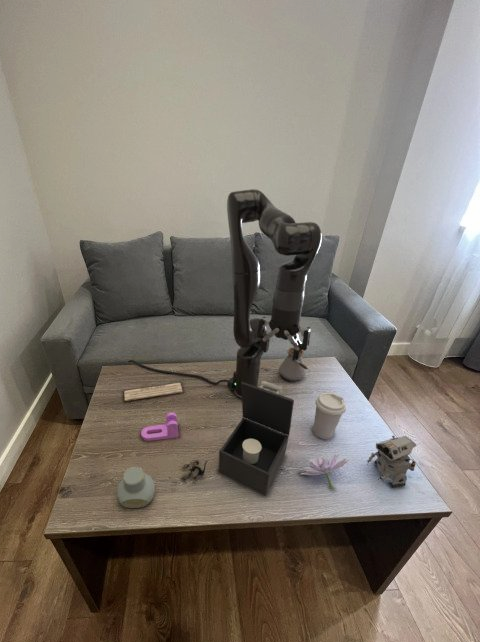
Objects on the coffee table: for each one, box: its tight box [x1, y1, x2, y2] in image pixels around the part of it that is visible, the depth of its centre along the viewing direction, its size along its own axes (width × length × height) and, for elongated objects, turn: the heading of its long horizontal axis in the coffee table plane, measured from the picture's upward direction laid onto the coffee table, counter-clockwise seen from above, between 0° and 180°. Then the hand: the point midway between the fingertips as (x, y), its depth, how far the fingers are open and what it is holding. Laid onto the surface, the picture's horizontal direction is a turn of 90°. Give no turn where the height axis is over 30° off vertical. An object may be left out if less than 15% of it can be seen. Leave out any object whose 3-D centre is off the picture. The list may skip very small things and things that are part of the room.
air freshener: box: [116, 466, 156, 509], centre depth 91 cm, size 11×8×10 cm
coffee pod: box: [242, 439, 262, 464], centre depth 96 cm, size 6×6×5 cm
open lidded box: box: [218, 417, 290, 497], centre depth 99 cm, size 17×16×10 cm
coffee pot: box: [278, 347, 310, 382], centre depth 132 cm, size 21×12×15 cm, turn 179°
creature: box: [182, 460, 208, 481], centre depth 98 cm, size 8×5×8 cm
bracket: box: [140, 411, 180, 442], centre depth 112 cm, size 13×6×7 cm, turn 98°
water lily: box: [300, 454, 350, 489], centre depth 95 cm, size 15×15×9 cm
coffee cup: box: [312, 391, 347, 440], centre depth 109 cm, size 10×10×15 cm
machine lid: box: [241, 380, 295, 437], centre depth 98 cm, size 17×16×5 cm
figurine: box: [366, 435, 417, 489], centre depth 93 cm, size 9×12×15 cm
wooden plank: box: [123, 382, 184, 402], centre depth 133 cm, size 24×7×2 cm, turn 102°
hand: (279, 355), depth 92 cm, fingers open, 8 cm apart
